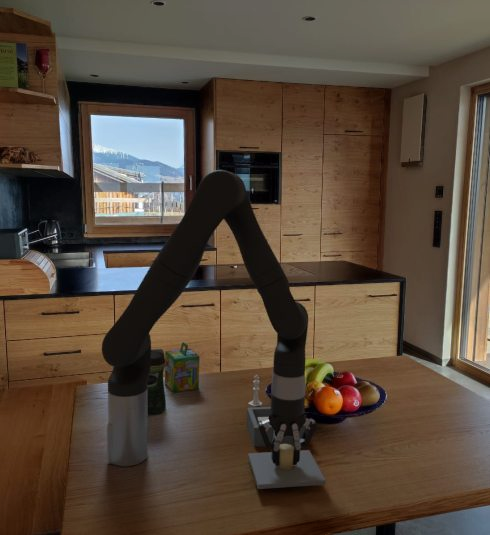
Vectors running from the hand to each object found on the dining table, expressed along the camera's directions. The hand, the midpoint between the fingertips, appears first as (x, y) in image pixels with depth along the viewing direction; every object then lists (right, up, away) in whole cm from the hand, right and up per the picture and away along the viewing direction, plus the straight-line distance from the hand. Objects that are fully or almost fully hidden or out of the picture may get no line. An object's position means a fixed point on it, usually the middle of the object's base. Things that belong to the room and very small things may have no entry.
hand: (285, 463), depth 113 cm
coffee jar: (-38, +2, +34) cm, 51 cm away
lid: (0, -2, 0) cm, 2 cm away
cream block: (-4, 0, +19) cm, 19 cm away
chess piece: (-6, +2, +39) cm, 39 cm away
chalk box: (-30, +5, +53) cm, 61 cm away
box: (-1, -1, +19) cm, 19 cm away
